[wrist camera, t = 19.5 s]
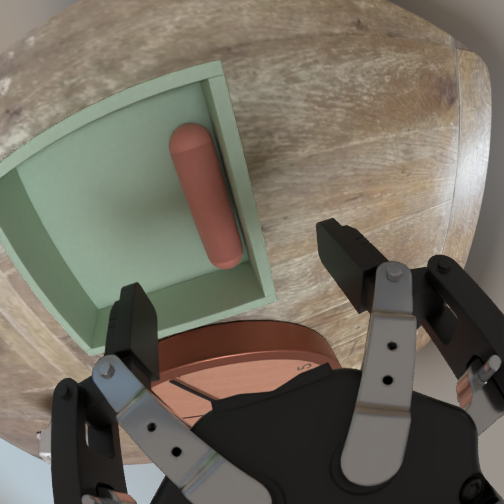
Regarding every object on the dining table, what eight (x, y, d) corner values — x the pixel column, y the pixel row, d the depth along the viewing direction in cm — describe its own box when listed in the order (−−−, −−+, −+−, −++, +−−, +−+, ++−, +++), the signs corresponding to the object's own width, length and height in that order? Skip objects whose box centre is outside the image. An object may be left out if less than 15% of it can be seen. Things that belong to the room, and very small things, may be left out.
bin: (9, 160, 13) (-29, 186, 9) (208, 67, 14) (220, 59, 10) (97, 312, 22) (89, 356, 18) (258, 260, 24) (277, 301, 19)
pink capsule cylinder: (166, 127, 15) (159, 135, 13) (206, 115, 15) (205, 121, 13) (212, 258, 22) (213, 280, 20) (244, 250, 22) (249, 271, 20)
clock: (320, 423, 44) (157, 456, 38) (313, 407, 47) (155, 438, 41) (372, 317, 26) (66, 373, 20) (354, 293, 30) (72, 342, 23)
